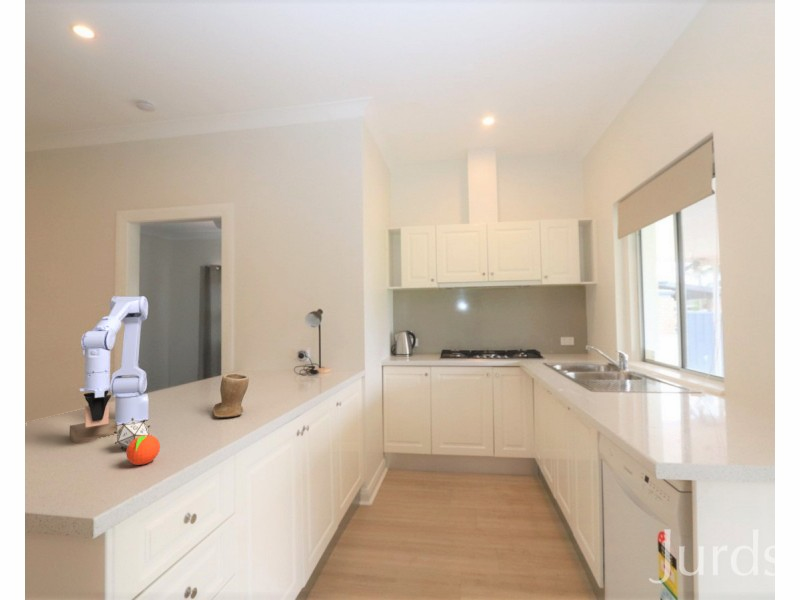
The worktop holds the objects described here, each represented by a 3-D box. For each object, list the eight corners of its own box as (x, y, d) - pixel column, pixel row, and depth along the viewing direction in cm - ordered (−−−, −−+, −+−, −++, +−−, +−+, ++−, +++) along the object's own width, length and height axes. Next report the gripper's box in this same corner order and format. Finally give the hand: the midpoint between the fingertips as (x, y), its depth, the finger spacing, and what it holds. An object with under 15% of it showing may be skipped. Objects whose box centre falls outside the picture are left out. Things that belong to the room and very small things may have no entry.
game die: (141, 460, 101) (165, 430, 103) (110, 460, 94) (137, 428, 95) (129, 439, 106) (152, 411, 107) (98, 438, 98) (124, 407, 100)
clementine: (152, 469, 87) (153, 439, 87) (118, 473, 85) (119, 442, 85) (163, 456, 94) (164, 429, 95) (133, 460, 92) (133, 432, 93)
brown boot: (249, 417, 130) (249, 375, 131) (212, 421, 125) (212, 378, 126) (247, 407, 144) (247, 369, 145) (213, 411, 139) (214, 372, 140)
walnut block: (110, 430, 118) (110, 418, 118) (117, 435, 113) (117, 422, 113) (69, 438, 110) (69, 425, 110) (74, 444, 105) (74, 430, 105)
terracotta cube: (106, 419, 109) (106, 403, 109) (108, 423, 105) (108, 406, 105) (84, 423, 105) (85, 406, 105) (85, 427, 102) (86, 409, 102)
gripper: (78, 370, 108) (77, 416, 108) (80, 376, 98) (79, 427, 97) (108, 367, 113) (107, 411, 112) (113, 373, 103) (112, 421, 102)
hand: (96, 418), depth 105 cm, fingers closed on terracotta cube, 5 cm apart
